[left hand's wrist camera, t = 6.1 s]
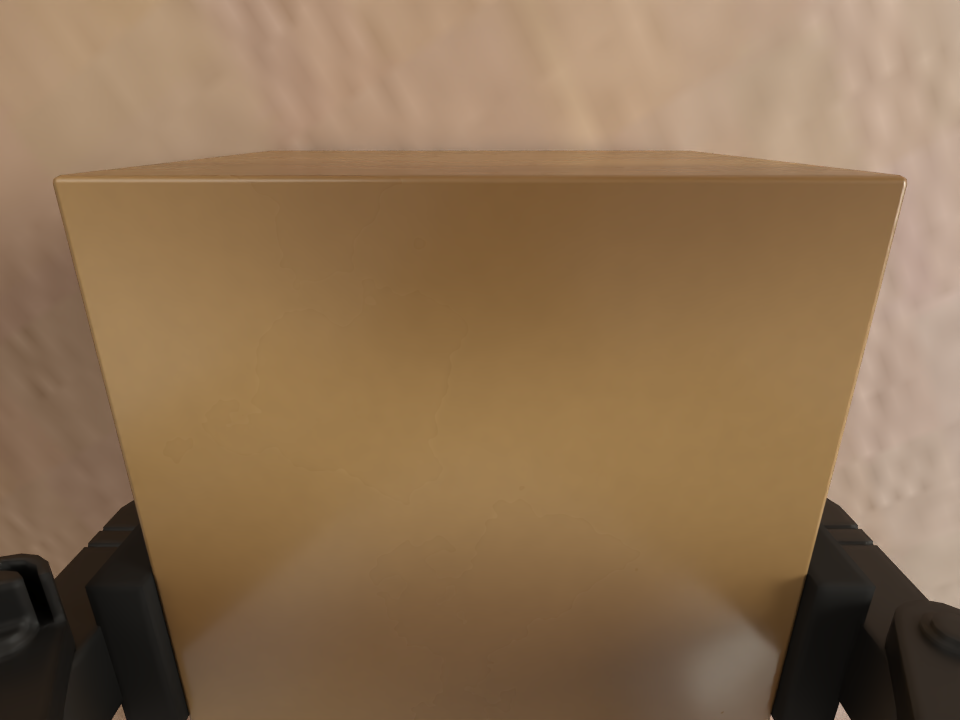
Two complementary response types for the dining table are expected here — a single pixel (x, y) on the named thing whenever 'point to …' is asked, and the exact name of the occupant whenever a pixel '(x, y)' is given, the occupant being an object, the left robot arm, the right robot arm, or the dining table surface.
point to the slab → (480, 420)
